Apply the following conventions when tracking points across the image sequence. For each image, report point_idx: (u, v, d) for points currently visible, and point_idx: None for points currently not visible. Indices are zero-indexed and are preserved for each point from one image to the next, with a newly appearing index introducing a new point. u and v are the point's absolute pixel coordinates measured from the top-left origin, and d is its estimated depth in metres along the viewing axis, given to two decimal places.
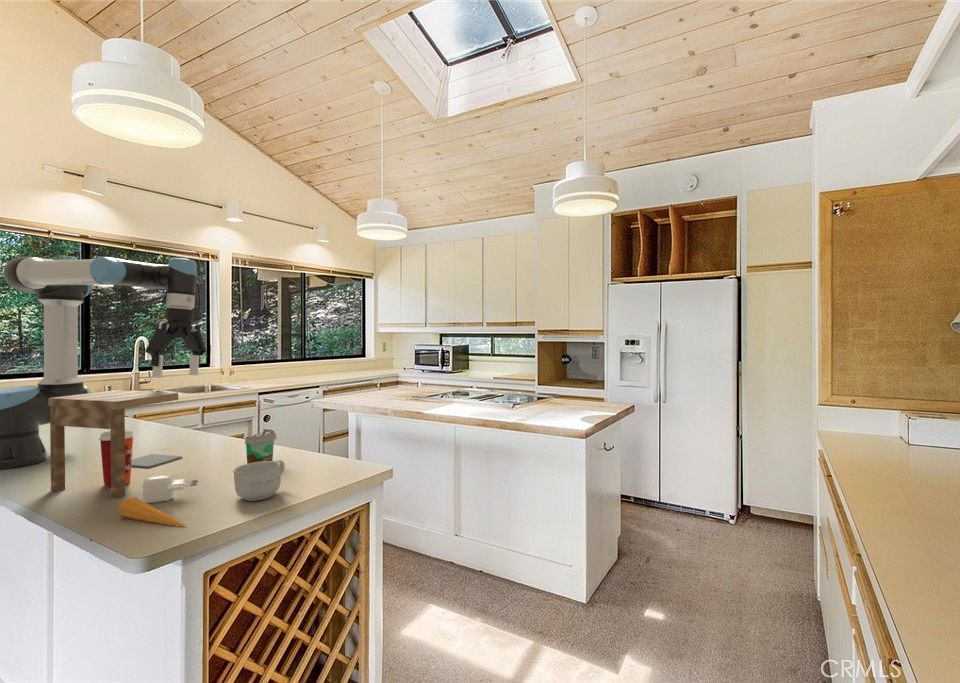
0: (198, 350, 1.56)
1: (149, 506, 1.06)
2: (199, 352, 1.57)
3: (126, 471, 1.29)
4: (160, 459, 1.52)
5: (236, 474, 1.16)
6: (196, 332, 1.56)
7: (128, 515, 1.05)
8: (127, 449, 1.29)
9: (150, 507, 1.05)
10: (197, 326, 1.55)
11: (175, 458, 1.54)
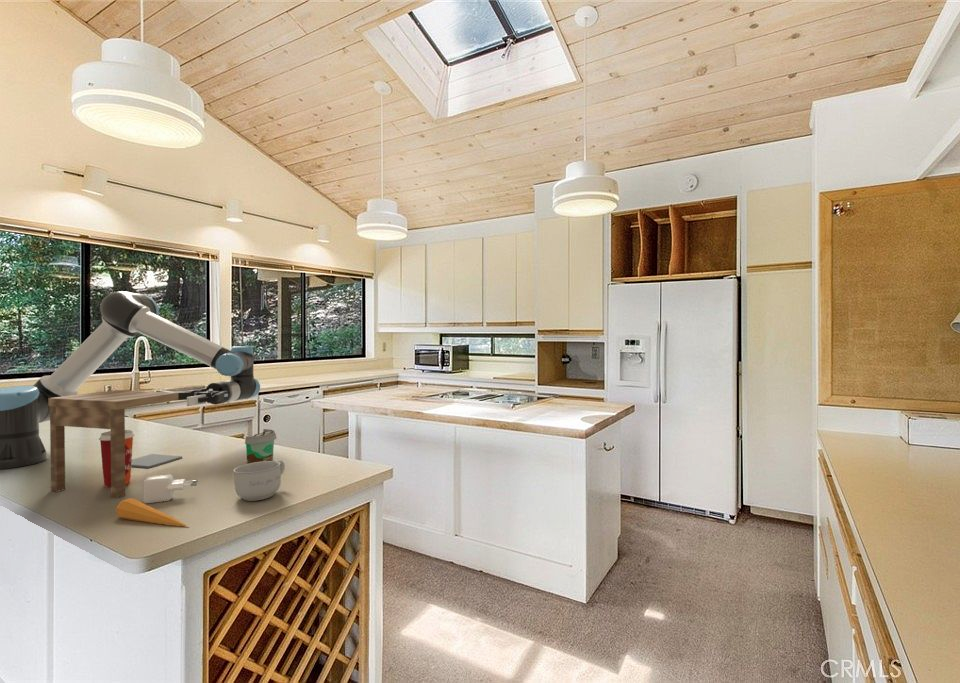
0: None
1: (147, 506, 1.05)
2: None
3: (126, 471, 1.29)
4: (160, 459, 1.52)
5: (236, 474, 1.16)
6: None
7: (126, 516, 1.05)
8: (127, 449, 1.29)
9: (148, 507, 1.05)
10: None
11: (175, 458, 1.54)
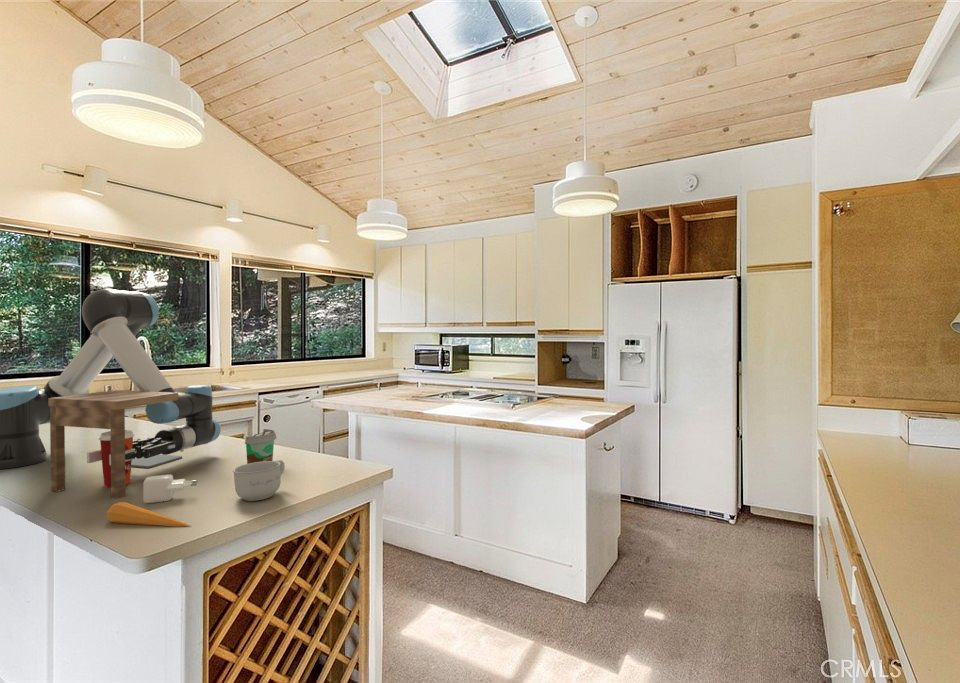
0: None
1: (142, 509, 1.04)
2: None
3: (126, 471, 1.29)
4: (160, 459, 1.52)
5: (236, 474, 1.16)
6: None
7: (119, 520, 1.03)
8: (127, 449, 1.29)
9: (144, 510, 1.04)
10: None
11: (175, 458, 1.54)
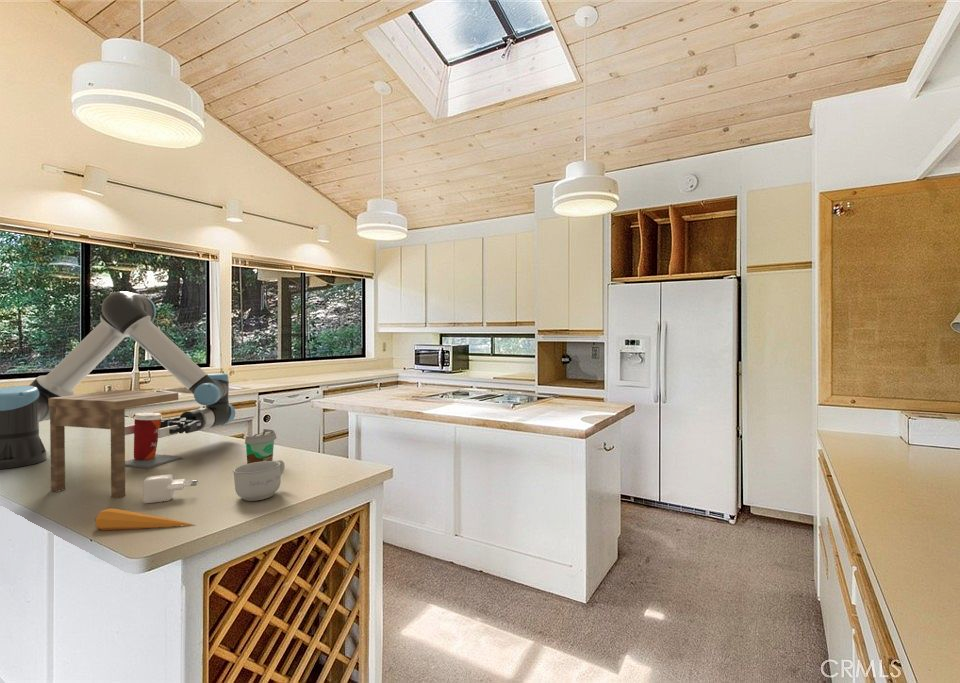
0: None
1: (136, 513, 1.02)
2: None
3: (153, 447, 1.53)
4: (160, 459, 1.52)
5: (236, 474, 1.16)
6: None
7: (111, 526, 0.99)
8: (155, 428, 1.53)
9: (138, 514, 1.02)
10: (169, 425, 1.65)
11: (175, 458, 1.54)
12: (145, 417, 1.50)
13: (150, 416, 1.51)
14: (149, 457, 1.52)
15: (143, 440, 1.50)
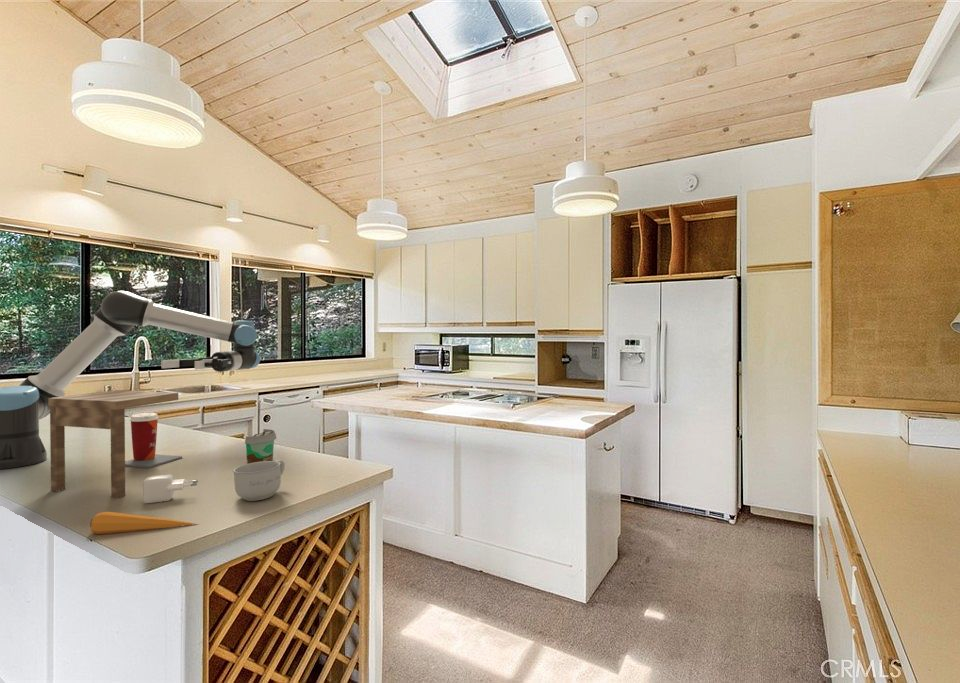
0: None
1: (134, 515, 1.00)
2: (179, 366, 1.71)
3: (152, 448, 1.52)
4: (160, 459, 1.52)
5: (236, 474, 1.16)
6: None
7: (109, 529, 0.98)
8: (152, 429, 1.52)
9: (136, 516, 1.00)
10: None
11: (175, 458, 1.54)
12: (141, 418, 1.49)
13: (146, 417, 1.50)
14: (149, 457, 1.52)
15: (141, 441, 1.50)
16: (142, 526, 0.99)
